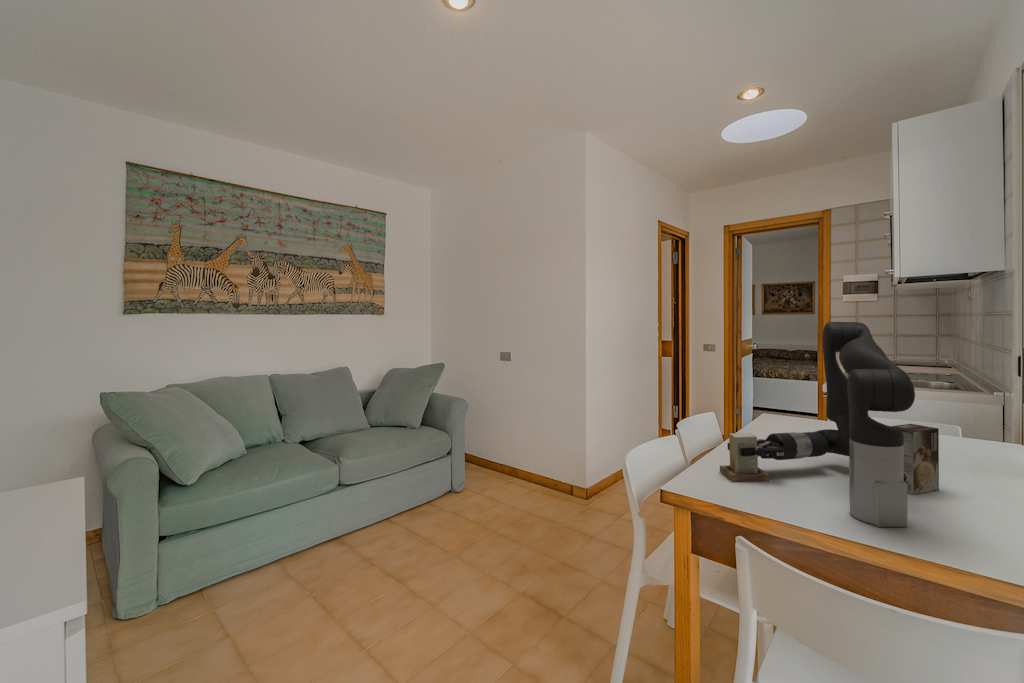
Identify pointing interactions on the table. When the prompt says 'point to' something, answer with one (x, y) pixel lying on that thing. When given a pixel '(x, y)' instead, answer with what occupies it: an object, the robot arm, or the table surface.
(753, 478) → the pocket collar
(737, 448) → the skincare box
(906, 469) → the coffee box
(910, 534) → the table surface
